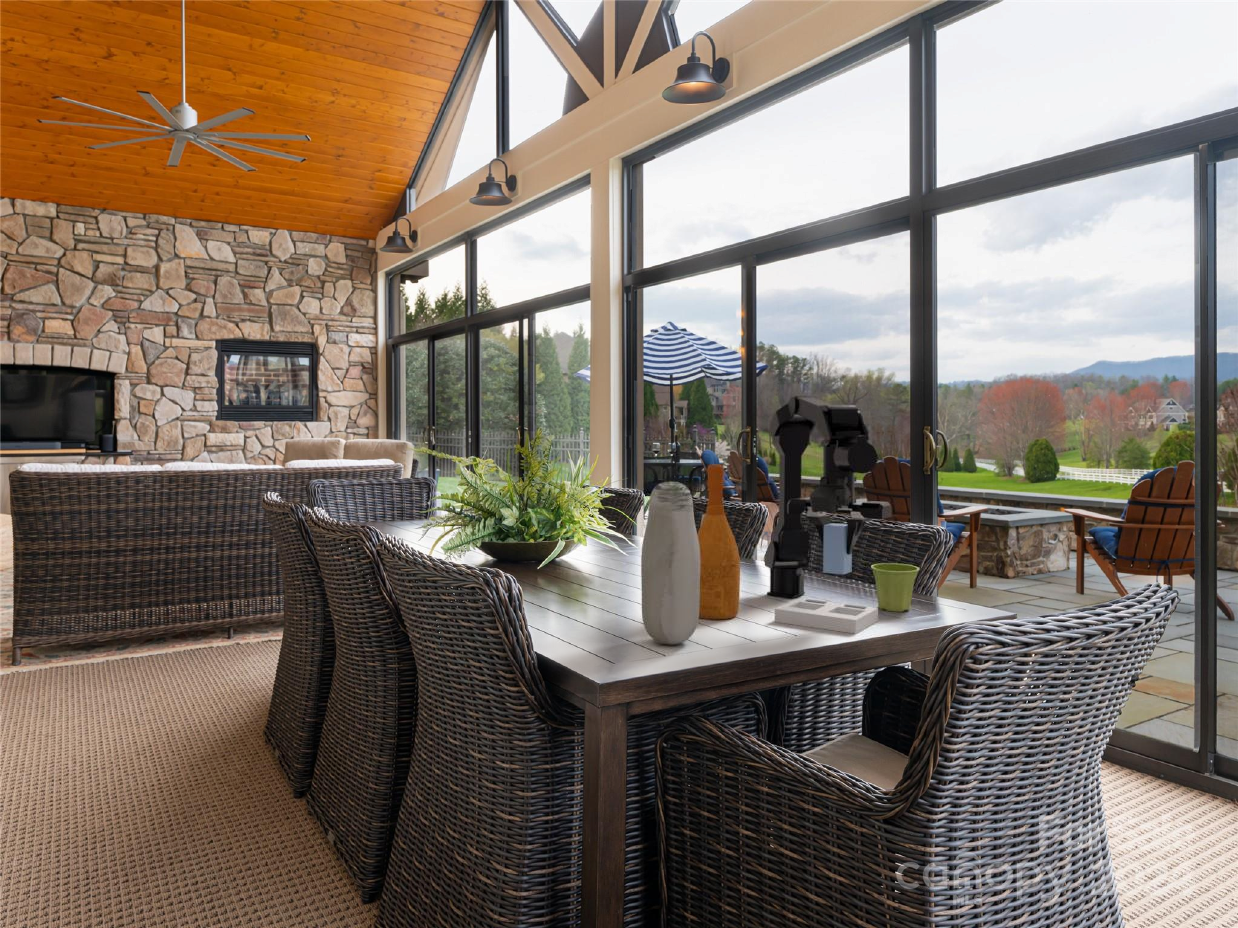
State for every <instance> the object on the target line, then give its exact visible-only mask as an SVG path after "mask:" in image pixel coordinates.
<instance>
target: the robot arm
mask: <svg viewBox="0 0 1238 928" xmlns="http://www.w3.org/2000/svg"><path fill="white" fill-rule="evenodd" d="M815 428H816V430H817V431H818V432H819V433H820V434H821V435H822V437H823V438H824V439H823V440H822V441H821V442H820V447H822V449H823V450H822V451H823V453H822V454H823V456H822V465H823V466H822V468H823V469H822V472H823V473H822V476H820V479H819V486H818V487H816V488H815V489H814V490H813V491H812V492H811V493H810V494H809V497H802V467H803V466H802V462H803V460H802V458H803V455H804V452H806V450H807V449H808V446H809V445H810V439H811V434H812V433H813V432H814V429H815ZM769 432H770V436H771V443H772V445H773V447H774V449H775V450H776V452H777V453H778V455H779V465H778V466H779V468H778V469H779V470H778V471H779V473H778V474H779V476H778V477H779V478H778V479H779V484H778V485H779V486H778V489H779V492H778V495H779V496H778V499H779V500H778V504H779V505H778V522H777V523H776V525H775V527H773V530H772V531H771V535H770V542H769V543H768V547H767V548H766V551H765V553H764V556H763V560H764V566H765V567H767V568H768V569H769V573H770V575H769V576H770V577H769V578H770V579H769V591H767V592H766V595H768V596H774V597H782V598H789V599H794V598H795V599H796V598H797V597H800V596H802V595H805V594H806V591H804V590H805V574H804V573H803V568H804V569H808V568H809V564H810V557H811V553H812V546H811V543H810V536H811V535H810V533H809V530H806V528H805V527H804V525H803V524H802V515H803V514H804V513H806V515H805V516H804V517H805V520H810V521H811V523H812V524H813V525H814V527H815V529H816V530H817V533H818V536H819V538H820V542H821V545H822V546H823V545H824V525H826V524H831V523H832V522H831V521H832V518H831V517H832V515H831V514H834V513H836V514H837V513H839V514H850V517H849V518H846V519H845V522H846V524H847V525H848V533H847V555H850V554H851V553H852V552H853V550H854V547H856V546H855V545H856V544H857V543H856V542H857V540H858V538H859V536H860V534H861V532H862V530H863V529H864V527H865V525H866V523H867V522H870V521H872V519H873V520H875V519H876V520H883V519H887V518H892V515H893V514H892V513H893V510H892V509H893V507H892V505H891V504H890V502H889V501H878V500H877V501H874V500H873V501H872V500H870V501H863V502H861V504H858V503H857V497H855V483H857V476H855V474H862V475H863V474H868V473H869V472H872V471H873V470H874V469H875V468H876V465H877V463H878V459H879V458H878V457H879V455H878V453H877V449H876V448H875V447H874V446H873V445H872V443H869V442H868V441H869V439H870V437H869V430H868V427H867V425H866V424H865V421H864V418H863V416H862V413H861V412H860V411H859V408H858V406H857V405H854V404H831V403H828V402H826V401H824V400H821V399H818V398H816V396H813V395H793V396H791V397H790V398H789V400H788V402H787V403H786V404H785V405H784V406H782V407H780V408H779V409H777V410H776V411H775V413H774V415H773V417H772V419H771V421H770V423H769ZM852 554H853V553H852Z"/></svg>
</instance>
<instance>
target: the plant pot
mask: <svg viewBox="0 0 1238 928" xmlns="http://www.w3.org/2000/svg"><path fill="white" fill-rule="evenodd" d="M870 569H871V570H872V572H873V576H874V581H875V587H876V595H877V596H876V597H877V603H878V609H880V610H886V611H887V612H898V613H901V612H904V611H910V609H911V605H912V604H911V602H912V597H913V590H914V584H915V579H916V578H917V574H918V572H919V571H920V567H918V566H915V565H911V564H906V563H892V562H891V563H889V562H888V563H887V562H886V563H885V562H884V563H874V564H872V565H871V566H870Z"/></svg>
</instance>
